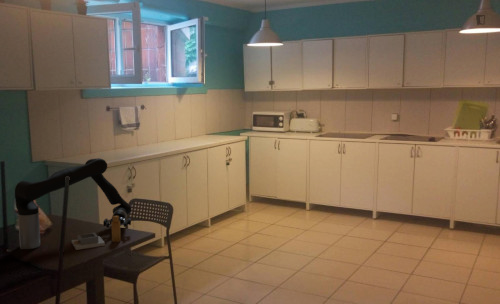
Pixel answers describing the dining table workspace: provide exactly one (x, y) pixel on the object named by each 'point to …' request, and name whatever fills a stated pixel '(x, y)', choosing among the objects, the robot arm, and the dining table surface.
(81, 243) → the hollow square frame plate
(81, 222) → the dining table surface
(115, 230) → the stepped amber cylinder
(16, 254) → the dining table surface
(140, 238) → the dining table surface
